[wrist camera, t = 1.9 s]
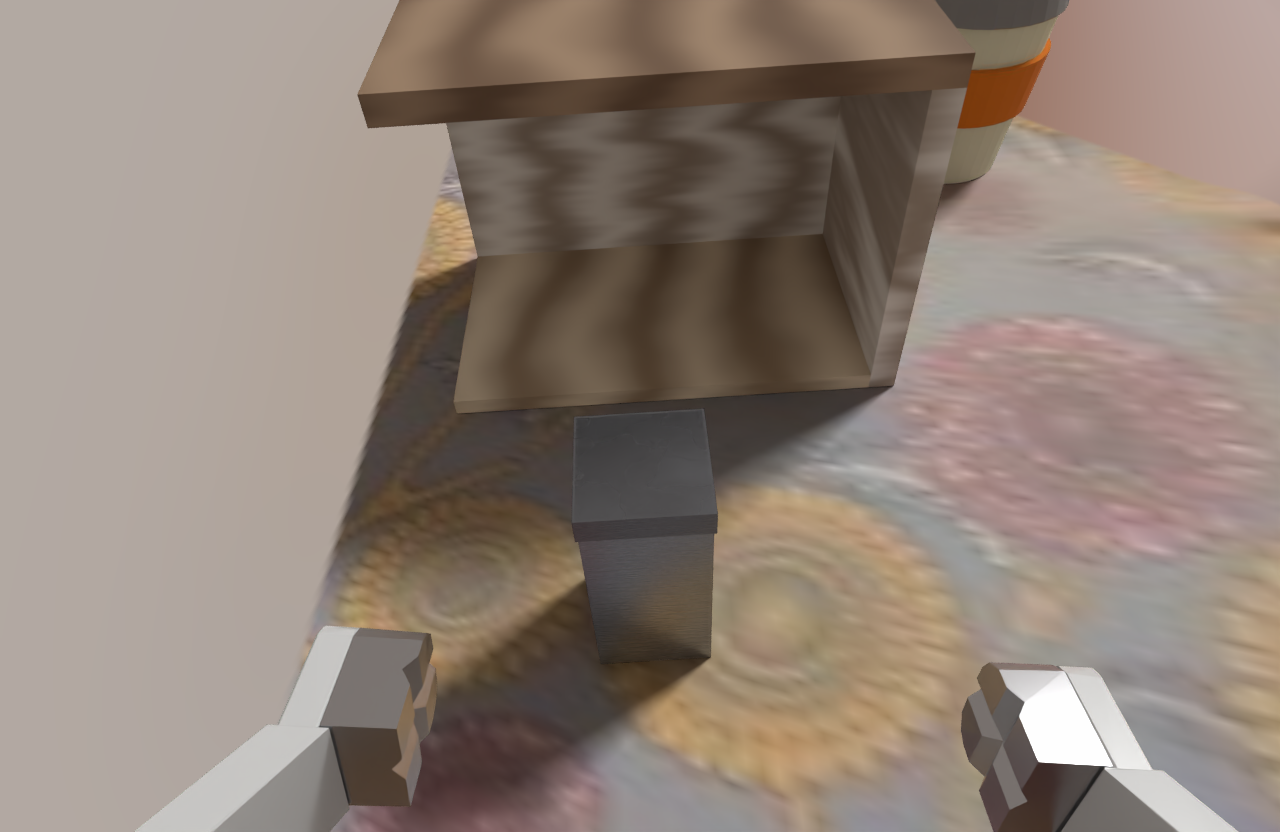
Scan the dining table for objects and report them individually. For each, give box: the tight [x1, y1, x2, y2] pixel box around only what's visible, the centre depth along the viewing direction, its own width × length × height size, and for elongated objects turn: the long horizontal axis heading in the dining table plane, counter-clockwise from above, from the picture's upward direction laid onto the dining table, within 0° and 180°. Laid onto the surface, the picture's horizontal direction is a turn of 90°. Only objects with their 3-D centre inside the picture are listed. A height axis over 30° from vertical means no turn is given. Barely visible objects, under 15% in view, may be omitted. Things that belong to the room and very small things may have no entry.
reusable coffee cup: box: [935, 0, 1069, 184], centre depth 60 cm, size 13×13×15 cm
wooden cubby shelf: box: [358, 0, 976, 414], centre depth 47 cm, size 26×16×20 cm, turn 92°
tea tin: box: [572, 409, 718, 664], centre depth 35 cm, size 5×5×11 cm
